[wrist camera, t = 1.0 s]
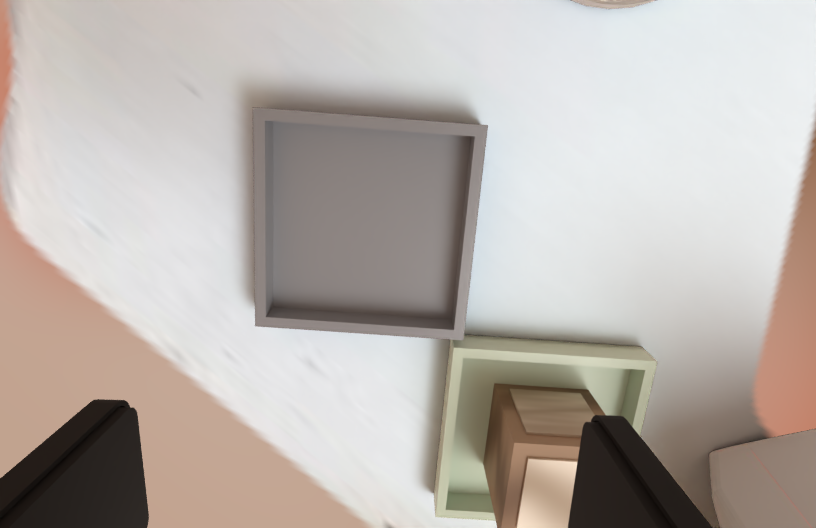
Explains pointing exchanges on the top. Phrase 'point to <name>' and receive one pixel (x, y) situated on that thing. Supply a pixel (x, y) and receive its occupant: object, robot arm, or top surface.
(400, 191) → the grey tray
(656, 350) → the top surface
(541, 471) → the letter block
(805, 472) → the electrical switch box
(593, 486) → the robot arm
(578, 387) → the green tray
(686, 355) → the top surface
